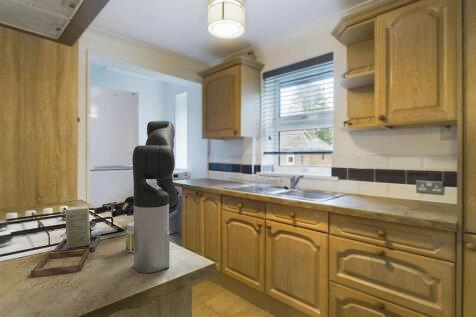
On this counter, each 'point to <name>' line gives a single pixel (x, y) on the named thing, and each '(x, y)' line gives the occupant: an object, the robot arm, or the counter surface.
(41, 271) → the frame
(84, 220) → the skincare box
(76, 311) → the counter surface
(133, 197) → the robot arm
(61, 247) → the charcoal seat plate
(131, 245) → the supplement bottle
